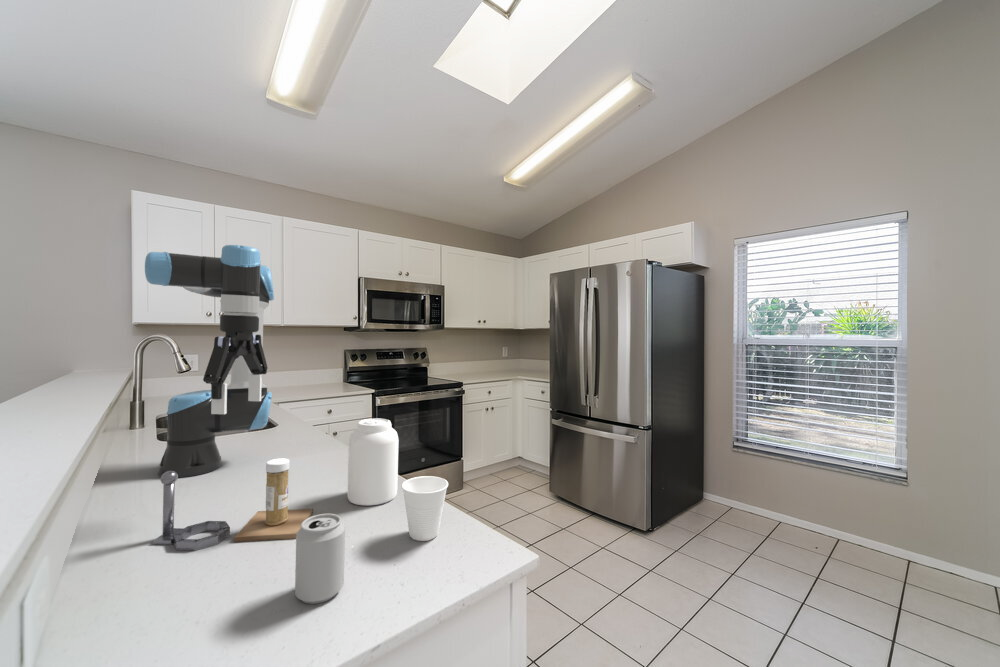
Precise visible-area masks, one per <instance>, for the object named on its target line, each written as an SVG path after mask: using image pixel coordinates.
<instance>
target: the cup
mask: <svg viewBox="0 0 1000 667" xmlns="http://www.w3.org/2000/svg"><path fill="white" fill-rule="evenodd" d="M448 487H449V482H448V481H447V480H446V479H445V478H443V477H439V476H435V475H434V476H433V475H423V476H416V477H412V478H408V479H407V480H404V482H403V483H402V484H401V489H402V492H403V499H404V505H405V506H404V507H405V510H406V511H405V514H406V518H407V519H406V520H407V527H408V533H409V537H410V538H412V540H414V541H417V542H428V541H431V540H433V539H435V538H436V537H437V536H438V535H439V532H440V526H441V521H442V514H443V510H444V504H445V499H446V495H447V488H448Z"/></svg>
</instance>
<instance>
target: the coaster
mask: <svg viewBox="0 0 1000 667" xmlns="http://www.w3.org/2000/svg"><path fill="white" fill-rule="evenodd" d="M313 513H314V508H302V509H301V508H299V509H298V508H297V509H288V520H287V521H286V522H284V523H282V524H280V525H274V526H270V525H267V524H266V523H265V520H266V510H259V511H258V510H257V512H256V513H255V514H254V515H253V516H252V517H251V518H250V519H249V521H248V522H247V523H246V524H245V525H244V526H243V527H242V528H241V529H240V530H239V531H238V532H237V534H235V536H234V537H233V540H234V541H233V542H234V543H238V542H239V543H240V542H241V543H243V542H257V541H258V542H259V541H272V540H273V541H274V540H290V539H293V540H294V539H296V534H297V532H298V531H299V529H300V528H301V524H302V522H303V521H304V520H306V519H307V518H309V517H312V516H313Z"/></svg>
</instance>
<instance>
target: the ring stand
mask: <svg viewBox="0 0 1000 667" xmlns="http://www.w3.org/2000/svg"><path fill="white" fill-rule="evenodd" d="M178 478H179V477H178V474H177V473H176V472H175V471H167V472H165V473H164V474H163V475H162V476H160V482H161V484H162V485H163V488H162V489H163V493H162V494H163V496H162V499H163V500H162V533H161V535H159V536H158V537H156V538H155V539H153V540H152V545H161V546H163V545H167V546H171V545H174V549H175V550H176V551H188V552H189V551H190V552H191V551H193V552H195V551H199V550H203V549H206V548H209V547H213V546H216V545H219V544H220V543H221V542H223V541H224V540H225V539H226V538H228V537H229V536H230V535H231V526H230V525H229V524H228V523H227V521H224V520H207V521H203V522H199V523H196V524H192V525H191V524H190V525H188V526H185V527H184V528H177V527H176V528H175V493H176V492H175V491H176V490H175V489H176V488H175V483H176V482H177V480H178ZM205 532H216V533H214V534H212V535H207V536H205V537H201V538H197V539H196V538H195V539H193V538H190V537H191V536H194V535H197V534H201V533H205Z"/></svg>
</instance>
